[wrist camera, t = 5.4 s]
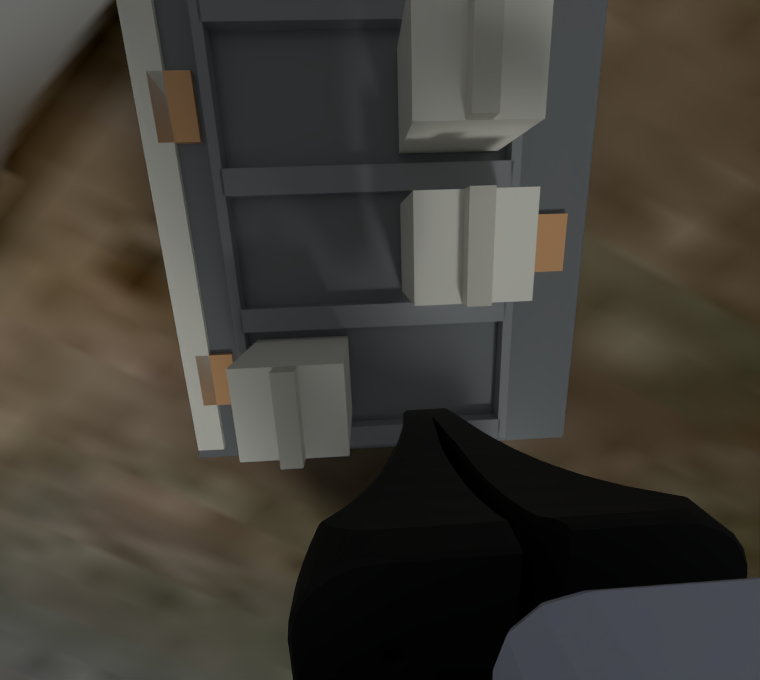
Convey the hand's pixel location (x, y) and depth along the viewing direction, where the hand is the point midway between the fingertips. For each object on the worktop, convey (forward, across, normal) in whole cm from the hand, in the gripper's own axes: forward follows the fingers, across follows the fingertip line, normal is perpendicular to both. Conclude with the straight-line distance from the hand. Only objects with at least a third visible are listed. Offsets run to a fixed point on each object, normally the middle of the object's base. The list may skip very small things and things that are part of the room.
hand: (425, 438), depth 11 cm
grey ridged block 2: (+6, -2, -11) cm, 13 cm away
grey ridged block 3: (+6, -2, -6) cm, 8 cm away
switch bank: (+7, +1, -6) cm, 9 cm away
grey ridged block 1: (+6, +4, 0) cm, 7 cm away
